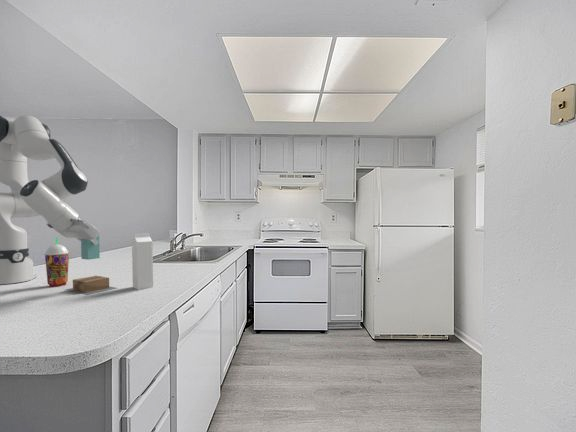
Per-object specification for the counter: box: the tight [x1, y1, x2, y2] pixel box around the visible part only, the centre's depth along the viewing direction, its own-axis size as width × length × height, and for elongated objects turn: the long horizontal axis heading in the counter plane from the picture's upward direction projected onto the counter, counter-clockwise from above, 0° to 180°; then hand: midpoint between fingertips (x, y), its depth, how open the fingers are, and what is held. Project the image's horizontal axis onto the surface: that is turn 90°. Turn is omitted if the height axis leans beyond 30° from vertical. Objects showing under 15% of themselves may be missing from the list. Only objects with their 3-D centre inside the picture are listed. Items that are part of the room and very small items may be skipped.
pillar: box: [80, 234, 101, 260], centre depth 131 cm, size 4×4×11 cm
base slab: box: [72, 275, 110, 293], centre depth 131 cm, size 9×9×4 cm
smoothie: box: [44, 237, 70, 288], centre depth 138 cm, size 8×8×20 cm
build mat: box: [64, 285, 118, 296], centre depth 131 cm, size 16×12×1 cm
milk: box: [131, 232, 154, 290], centre depth 134 cm, size 6×6×22 cm
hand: (91, 243), depth 131 cm, fingers closed on pillar, 4 cm apart
